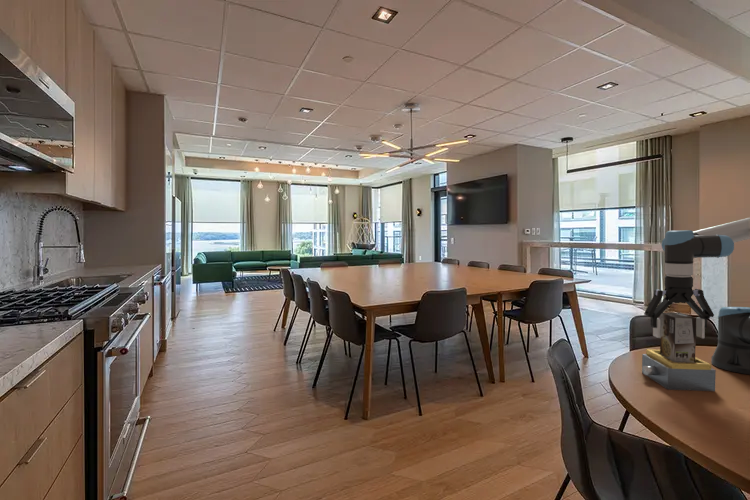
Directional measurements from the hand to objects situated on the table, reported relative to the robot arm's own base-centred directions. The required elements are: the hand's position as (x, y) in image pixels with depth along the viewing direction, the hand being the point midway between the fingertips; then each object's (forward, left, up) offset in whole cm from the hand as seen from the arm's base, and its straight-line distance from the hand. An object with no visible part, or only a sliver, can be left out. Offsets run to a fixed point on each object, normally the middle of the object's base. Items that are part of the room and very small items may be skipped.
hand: (678, 337), depth 126 cm
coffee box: (0, 0, -8) cm, 9 cm away
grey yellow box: (+2, 0, -16) cm, 16 cm away
